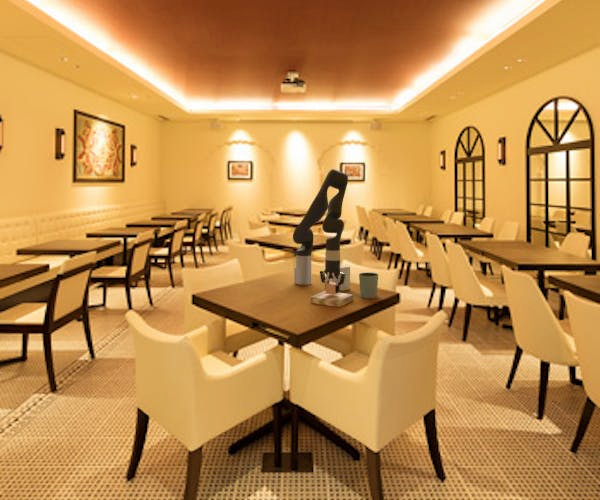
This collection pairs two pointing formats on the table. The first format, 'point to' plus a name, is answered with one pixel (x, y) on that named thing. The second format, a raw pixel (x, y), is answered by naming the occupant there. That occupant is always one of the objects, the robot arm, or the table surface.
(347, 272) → the small box
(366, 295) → the grey cylindrical piece
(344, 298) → the maple base
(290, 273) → the table surface
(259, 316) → the table surface
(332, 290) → the terracotta cube
